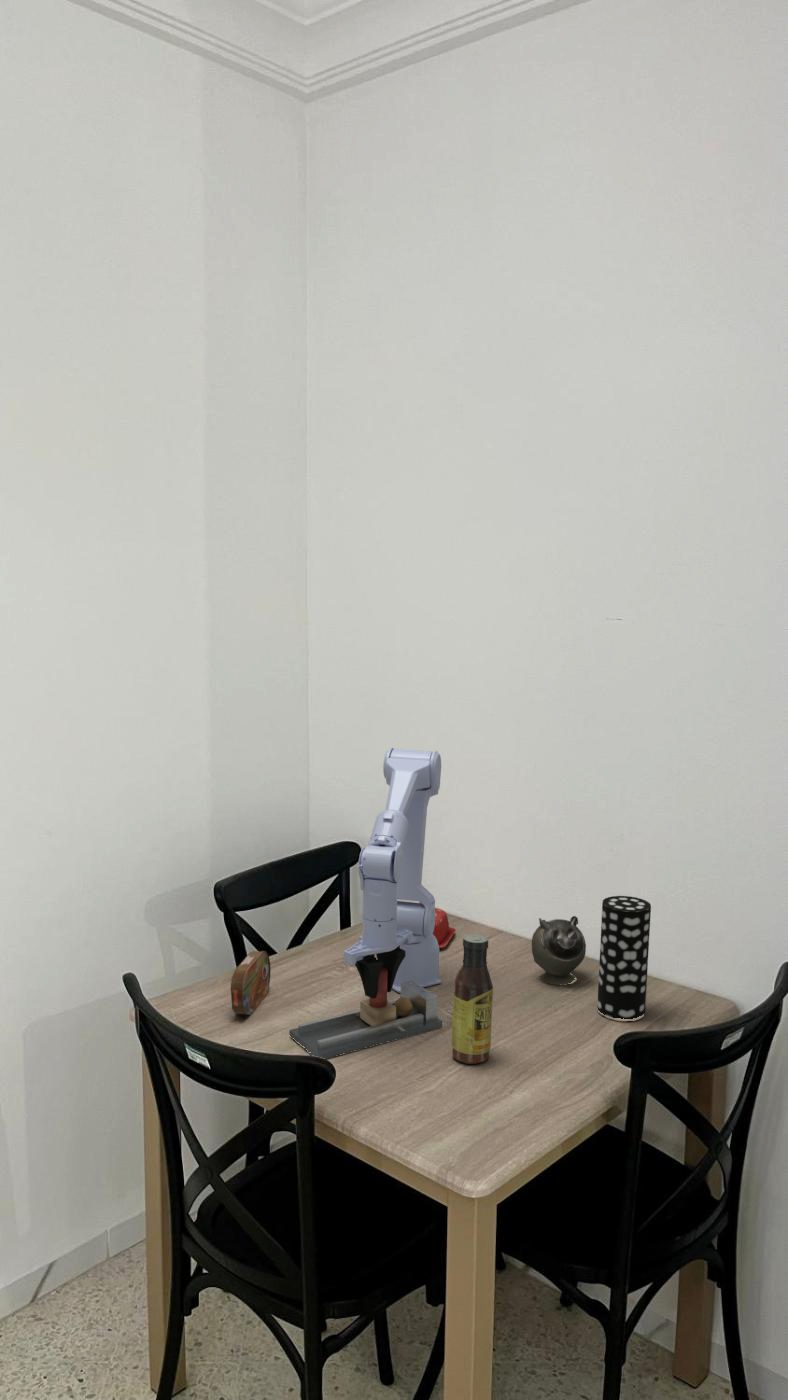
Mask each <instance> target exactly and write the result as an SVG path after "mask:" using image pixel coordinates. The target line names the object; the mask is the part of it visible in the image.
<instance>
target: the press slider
mask: <svg viewBox="0 0 788 1400" xmlns="http://www.w3.org/2000/svg"><path fill="white" fill-rule="evenodd" d="M387 977H388V970H387V969H386V968H384V967H382V968H381V971H380V975H379V980H378V992H377V997H376V998H374V999H373V998H370V997H368V999H364V1000H363V999H362V1000H360V1002H359V1003H360V1004H359V1009H360V1018H361V1019H362V1020H364V1021H365V1022H367V1023H368V1024H369V1025H371V1026H375V1025H379V1024H382V1023H386V1022H390V1021H394V1020H396V1007H395V1006H394V1005H393V1004H391V1003H390V1002H391V1001H388V992H387Z"/></svg>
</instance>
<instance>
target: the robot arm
mask: <svg viewBox="0 0 788 1400" xmlns="http://www.w3.org/2000/svg"><path fill="white" fill-rule="evenodd" d="M382 767H383V772H382V773H383V777H384V779H385V782H386V785H388V786H389V790H388V795H387V799H386V806H385V810H383V811H381V812H380V813H379V812H378V814H377V816H376V819H375V821H374V825H373V828H372V831H371V835H370V838H369V841H368V844H367V845H366V847H362V848H361V851H360V853H359V858H358V867H357V868H358V877H359V881H360V882H359V883H360V884H359V885H360V887H359V888H360V890H361V891H362V921H361V922H362V924H361V925H362V927H361V929H362V933H361V934H362V935H359V937H358V939H359V940H358V941H357V942H356V943H355V944H353V945H352V946H351V947H349V948H348V949H345V950H343V963H346V964H348V965H350V966H353V965H354V966H355V968H356V969H357V972H358V973H359V976H360V980H361V983H362V987H363V990H364V995H365V996H366V997H368V998H369V997H370V998H373V999H374V998H376V997H377V992H378V980H379V975H380V971H381V968H382V967H384V968H386V969H387V970H388V977H387V993H391V992H392V990H393V991H394V992H395V991H396V992H397V993H398V994H401V983H403V982H408V981H414V982H415V983H417V984H419V985H420V986H422V987H423V988H425V987H426V988H427V987H431V986H434V985H439V984H441V983H442V980H441V979H440V976H439V975H440V948H439V945H438V941H437V939H436V937H435V936H434V935H433V931H434V926H435V908H436V899H435V897H434V895H433V894H432V893H431V892H430V891H429V890H428V889H427V888H426V887H425V886H424V885H423V884H422V879H423V867H424V855H425V853H424V852H425V841H426V829H427V828H426V825H427V816H428V815H427V814H428V813H427V812H428V806H429V801H430V799H431V798H432V797H434V796H436V795H439V790H440V788H441V775H442V758H441V755H440V753H439V751H438V750H433V751H431V750H418V749H417V750H415V749H403V748H401V749H399V748H394V747H389V749H388V750H386V752H385V754H384V758H383V766H382ZM410 901H411V902H410ZM413 901H414V902H413ZM419 902H421V903H419ZM375 955H376V957H375Z"/></svg>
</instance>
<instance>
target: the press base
mask: <svg viewBox="0 0 788 1400" xmlns="http://www.w3.org/2000/svg"><path fill="white" fill-rule="evenodd" d="M399 996H400V997H399V998H402V997H405V998H408V999H409V1000H410V1001H411V1002H412V1005H413V1009H412V1012H411V1013H410V1014H409V1015H408V1016H405V1017H402V1016H399V1015H397V1014H396V1020H394V1021H390V1022H386V1023H382V1024H379V1025H375V1026H371V1025H369V1024H368V1023H367V1022H365V1021H364V1020H362V1019H361V1018H360V1008H359V1009H356V1010H351V1011H348V1012H344V1013H340V1014H336V1015H333V1016H328V1017H325V1018H321V1019H320V1018H319V1019H316V1020H313V1021H309V1022H308V1021H307V1022H303V1023H301V1024H300V1023H299V1024H298V1027H295V1028H291V1029H289V1032H288V1034H289V1035H290V1036H291V1037H292V1038H294V1039H295V1040H296V1041H297V1042H299V1043H300V1044H301V1045H302V1046H304V1047H305V1049H307V1050H308V1052H311V1053H310V1054H309V1055H310V1056H311V1055H314V1056H318V1057H322V1058H325V1060H328V1059H332V1058H331V1057H333V1058H335V1056H336V1055H340V1054H343V1053H347V1052H351V1051H354V1050H358V1049H362V1048H365V1047H369V1048H371V1047H370V1046H373V1045H376V1044H380V1043H384V1044H386V1043H385V1042H387V1041H391V1042H393V1041H392V1040H395V1039H398V1040H400V1039H399V1038H402V1039H404V1038H403V1037H405V1038H408V1037H407V1036H409V1037H412V1036H411V1035H413V1036H416V1035H420V1034H422V1033H423V1032H424V1033H427V1032H431V1031H433V1030H434V1029H435V1030H438V1029H442V1028H443V1020H442V1019H441V1018H439V1017H438V1013H439V1012H438V1010H439V996H437V995H436V994H435V993H433V992H432V991H430V990H428V989H426V988H425V987H422V986H420V985H419V984H417V983H415V982H414V981H408V982H403V983H401V993H400V995H399ZM396 1000H397V999H396ZM396 1000H391V1001H389V1002H390V1003H391V1004H393V1005H394V1004H395V1002H396ZM441 1027H442V1028H441ZM437 1028H438V1029H437ZM430 1030H431V1031H430ZM435 1030H434V1031H435ZM395 1041H396V1040H395ZM387 1043H388V1042H387ZM380 1045H381V1044H380ZM376 1046H377V1045H376ZM373 1047H374V1046H373ZM365 1049H366V1048H365ZM362 1050H363V1049H362ZM358 1051H359V1050H358ZM308 1052H307V1053H308ZM351 1053H352V1052H351ZM347 1054H348V1053H347ZM340 1056H341V1055H340ZM336 1057H337V1056H336Z"/></svg>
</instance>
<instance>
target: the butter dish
mask: <svg viewBox="0 0 788 1400" xmlns="http://www.w3.org/2000/svg"><path fill="white" fill-rule="evenodd" d="M418 903H421V902H419V901H418ZM449 923H450V922H449V919H448V915H447V911H445V910H443V909H441V908H439V907H435V926H434V931H433V935H434V936H435V937H436V939H437V941H438V945H439V949H442V948H445V947H446V946H447V945H448V944H449V942H450V940H451V939H452V938H453V936H454V935H455V933H456V930H457V929H456V928H455V927H452V926H450V924H449Z"/></svg>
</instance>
